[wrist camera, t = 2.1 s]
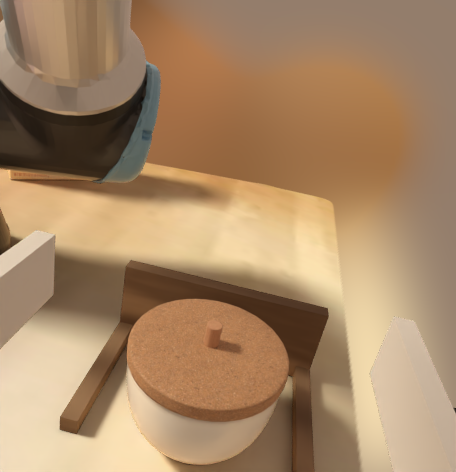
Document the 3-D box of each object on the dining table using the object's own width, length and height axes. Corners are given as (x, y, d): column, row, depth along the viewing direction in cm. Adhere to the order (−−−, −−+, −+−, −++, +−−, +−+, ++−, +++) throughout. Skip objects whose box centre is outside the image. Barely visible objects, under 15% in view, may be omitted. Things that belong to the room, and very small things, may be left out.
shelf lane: (123, 324, 41) (130, 260, 38) (305, 370, 40) (327, 308, 37) (59, 429, 30) (62, 349, 27) (309, 495, 29) (341, 421, 26)
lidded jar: (98, 394, 33) (106, 291, 29) (217, 361, 39) (239, 271, 35) (153, 528, 25) (175, 412, 21) (292, 461, 31) (331, 360, 27)
